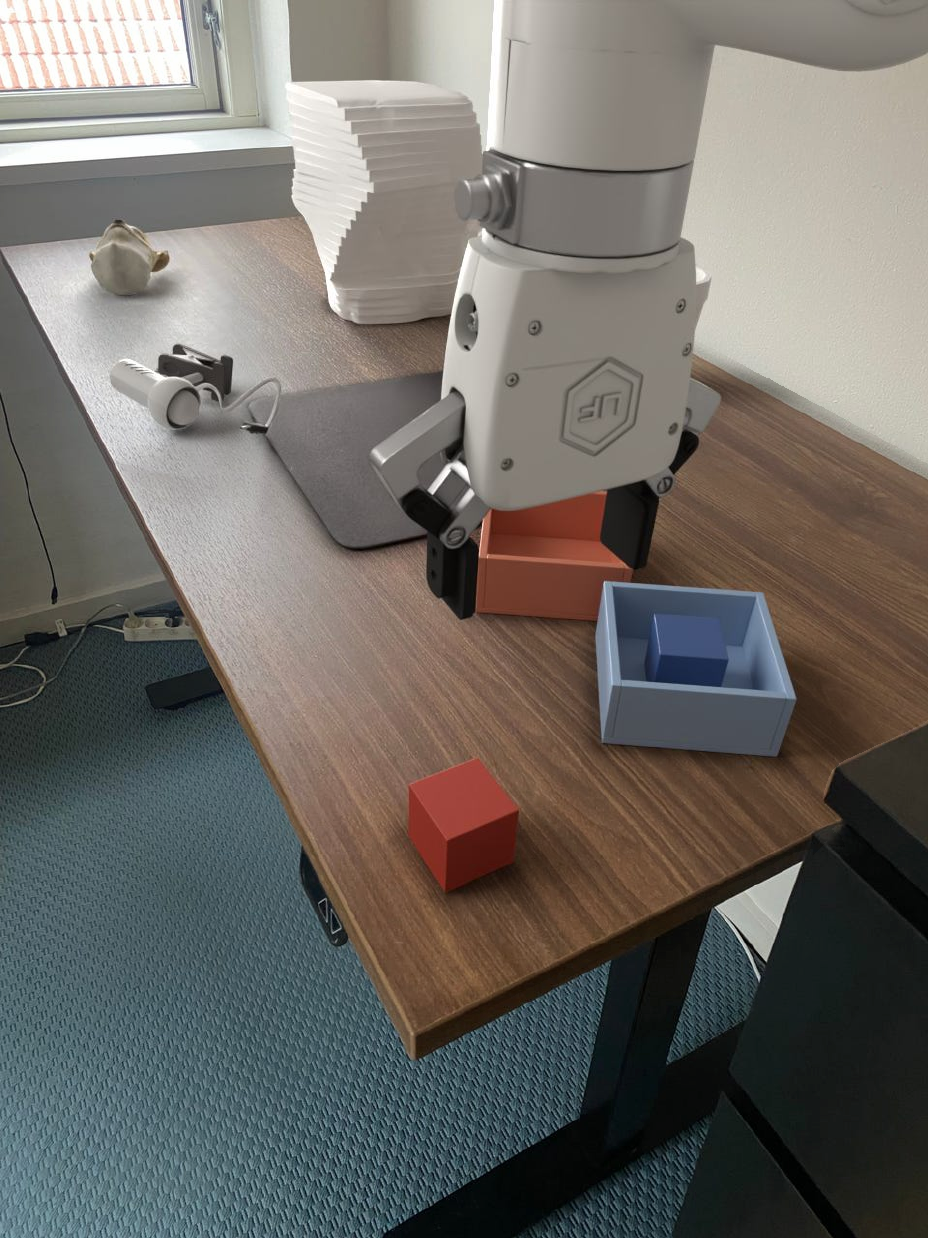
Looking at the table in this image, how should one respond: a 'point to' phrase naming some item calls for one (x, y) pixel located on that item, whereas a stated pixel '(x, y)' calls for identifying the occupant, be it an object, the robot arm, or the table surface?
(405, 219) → the paper stack
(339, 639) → the table surface
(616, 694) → the blue bin
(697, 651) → the blue block
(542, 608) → the red bin
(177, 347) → the clip-on lamp
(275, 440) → the mouse pad
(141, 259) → the ceramic sculpture
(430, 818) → the red block
